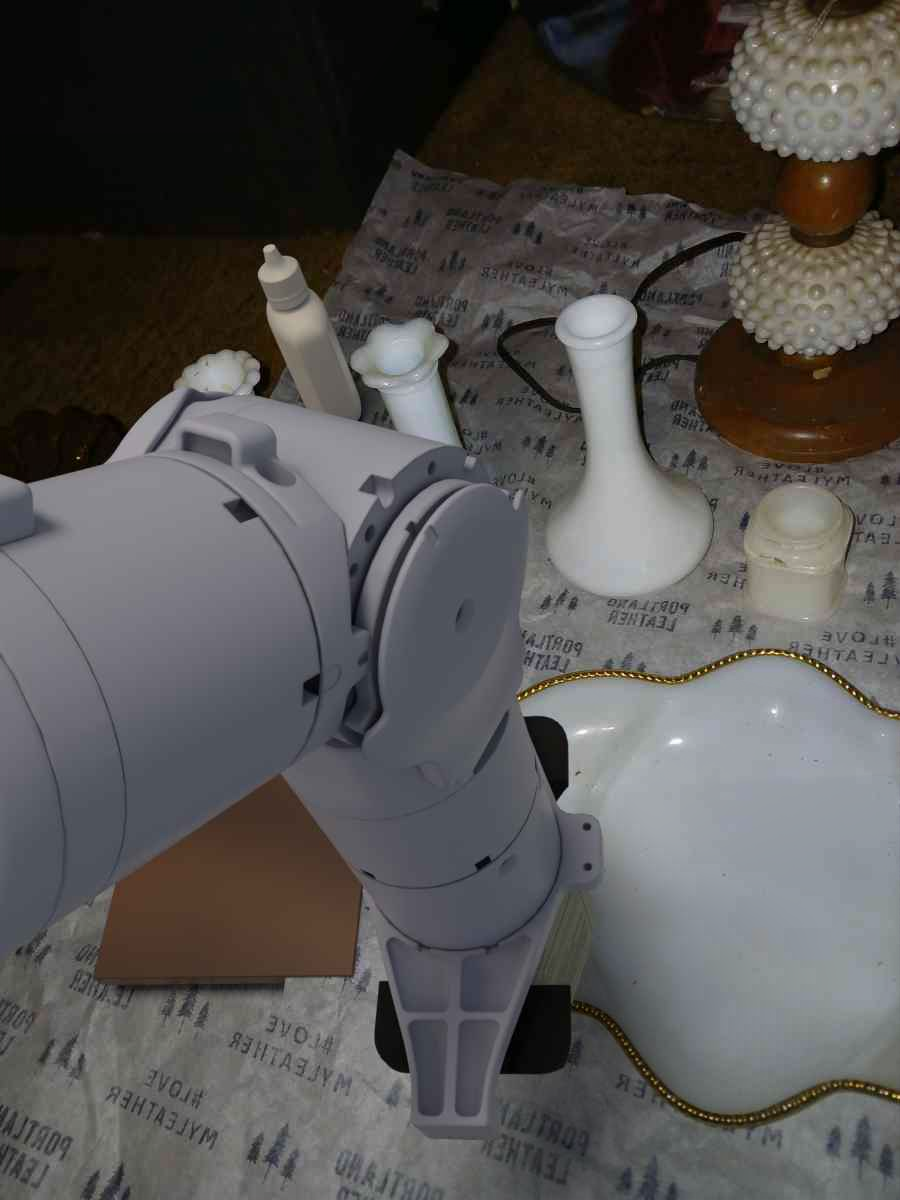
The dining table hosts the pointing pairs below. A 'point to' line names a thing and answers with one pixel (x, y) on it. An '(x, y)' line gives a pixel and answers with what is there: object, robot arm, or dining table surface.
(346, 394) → the eye dropper bottle
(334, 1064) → the dining table surface
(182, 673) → the robot arm
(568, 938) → the small box
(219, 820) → the shelf
